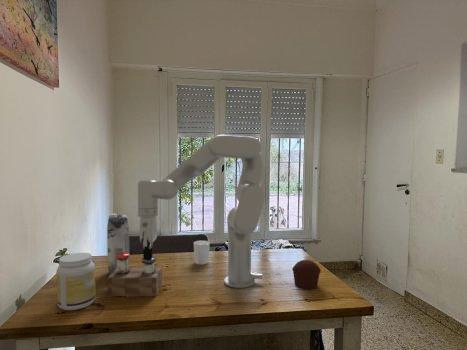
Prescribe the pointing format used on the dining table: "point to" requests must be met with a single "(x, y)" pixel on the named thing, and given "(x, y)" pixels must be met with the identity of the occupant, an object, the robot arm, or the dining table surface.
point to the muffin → (306, 274)
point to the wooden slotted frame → (134, 283)
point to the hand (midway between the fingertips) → (147, 258)
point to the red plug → (122, 263)
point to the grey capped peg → (148, 265)
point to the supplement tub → (75, 281)
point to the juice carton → (117, 239)
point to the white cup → (201, 252)
